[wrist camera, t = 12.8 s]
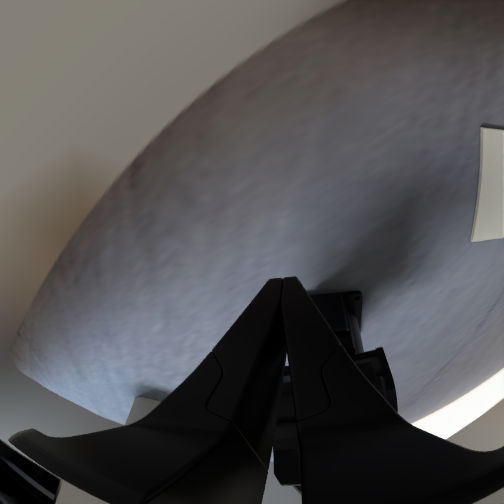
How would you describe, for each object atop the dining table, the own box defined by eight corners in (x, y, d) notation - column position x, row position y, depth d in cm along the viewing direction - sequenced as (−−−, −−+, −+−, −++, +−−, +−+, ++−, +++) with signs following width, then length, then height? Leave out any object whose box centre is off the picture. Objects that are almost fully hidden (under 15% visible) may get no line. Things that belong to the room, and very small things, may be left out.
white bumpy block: (177, 429, 48) (167, 464, 41) (124, 400, 43) (110, 437, 36) (210, 425, 43) (201, 466, 36) (152, 392, 39) (136, 437, 32)
